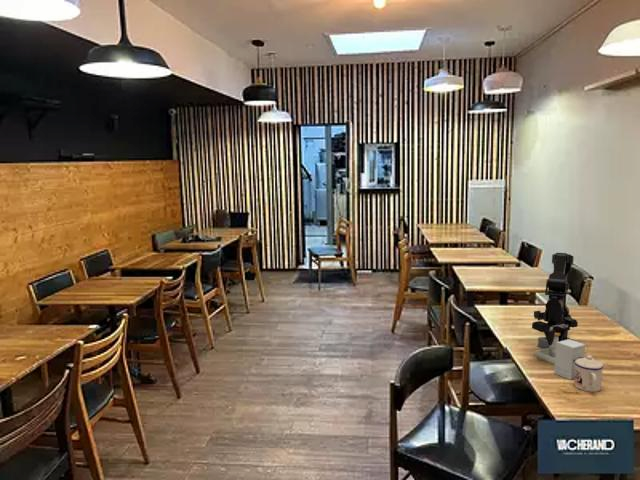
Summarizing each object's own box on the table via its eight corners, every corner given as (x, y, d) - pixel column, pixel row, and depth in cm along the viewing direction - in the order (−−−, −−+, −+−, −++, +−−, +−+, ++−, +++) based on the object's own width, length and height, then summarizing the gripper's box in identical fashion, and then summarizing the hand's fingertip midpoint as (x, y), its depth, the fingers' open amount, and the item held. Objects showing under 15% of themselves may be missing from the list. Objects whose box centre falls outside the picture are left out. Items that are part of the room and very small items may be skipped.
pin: (553, 352, 214) (554, 329, 212) (562, 356, 210) (563, 332, 208) (544, 353, 212) (545, 330, 211) (553, 357, 208) (554, 334, 207)
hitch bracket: (552, 344, 228) (552, 335, 227) (566, 350, 220) (566, 341, 220) (537, 346, 225) (538, 337, 225) (551, 352, 218) (552, 343, 217)
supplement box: (570, 380, 190) (572, 347, 188) (553, 373, 196) (555, 341, 195) (583, 376, 193) (585, 344, 191) (566, 369, 200) (568, 338, 198)
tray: (553, 352, 217) (553, 347, 217) (572, 361, 208) (572, 355, 208) (534, 356, 214) (534, 350, 214) (552, 364, 205) (553, 358, 204)
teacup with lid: (570, 381, 189) (572, 350, 188) (597, 382, 188) (599, 352, 186) (579, 395, 178) (581, 363, 176) (608, 397, 176) (610, 364, 174)
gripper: (558, 300, 219) (556, 335, 221) (523, 305, 212) (521, 341, 215) (579, 307, 208) (577, 343, 211) (543, 312, 202) (541, 350, 204)
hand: (553, 344), depth 210 cm, fingers closed on pin, 4 cm apart
